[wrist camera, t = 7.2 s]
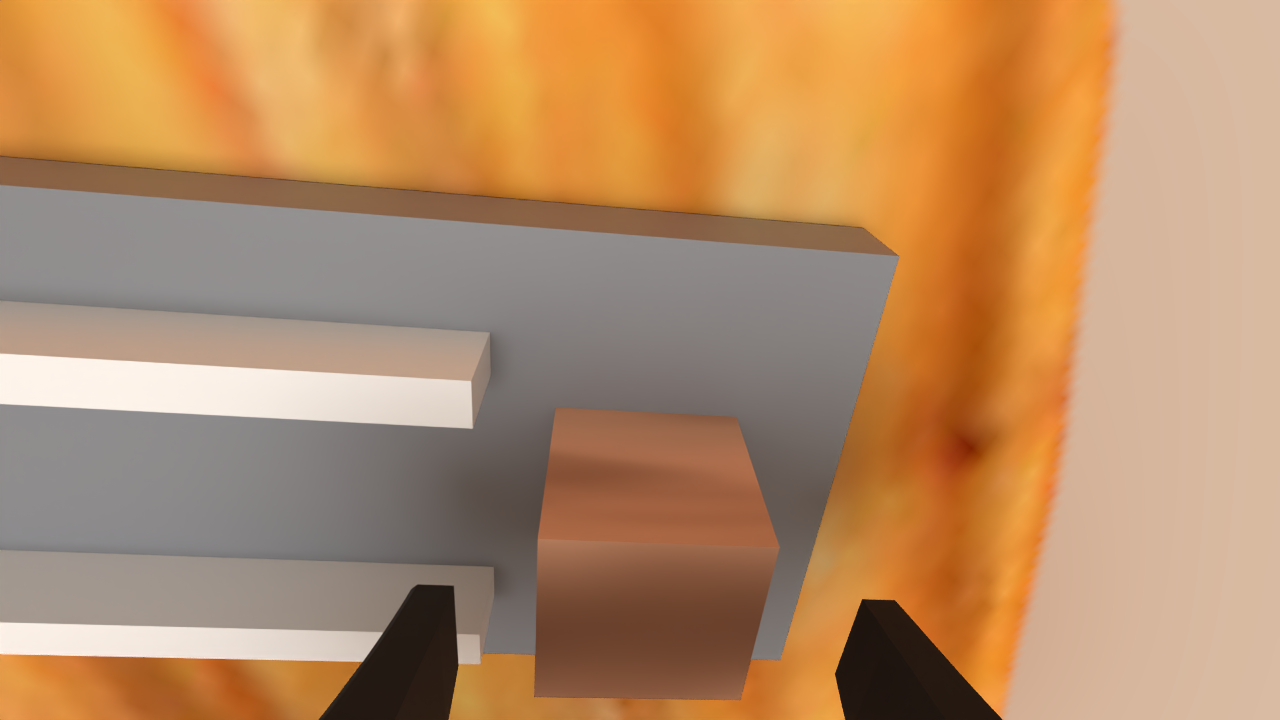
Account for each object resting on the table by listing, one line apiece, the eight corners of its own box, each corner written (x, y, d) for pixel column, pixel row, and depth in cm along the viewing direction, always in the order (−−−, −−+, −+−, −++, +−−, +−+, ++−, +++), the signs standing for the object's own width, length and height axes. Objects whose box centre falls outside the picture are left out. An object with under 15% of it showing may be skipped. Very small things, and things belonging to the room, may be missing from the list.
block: (710, 550, 16) (740, 700, 12) (550, 545, 16) (534, 696, 12) (736, 416, 14) (779, 547, 11) (555, 407, 14) (537, 539, 10)
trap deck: (764, 603, 20) (780, 660, 18) (-231, 573, 17) (-325, 634, 16) (863, 227, 14) (899, 256, 12) (-573, 108, 12) (-778, 123, 10)
